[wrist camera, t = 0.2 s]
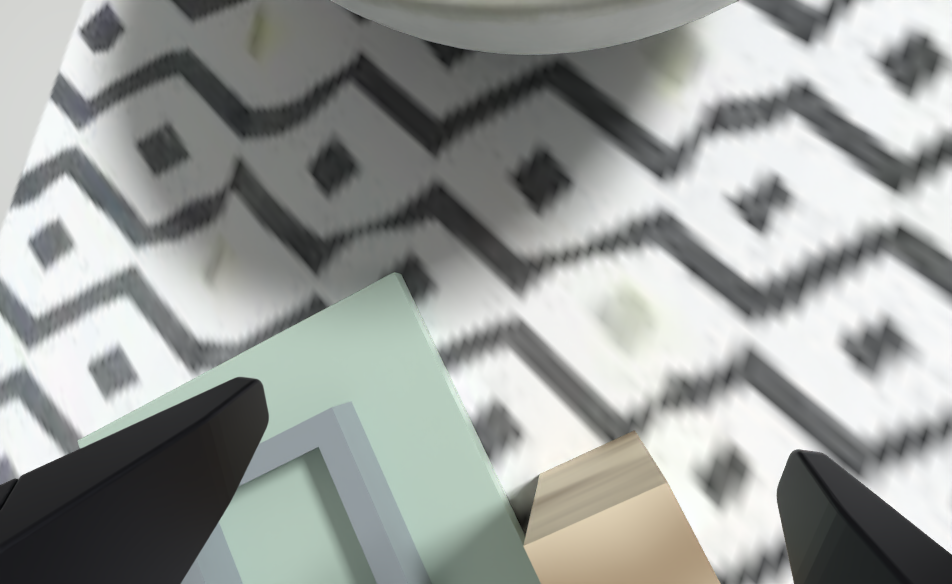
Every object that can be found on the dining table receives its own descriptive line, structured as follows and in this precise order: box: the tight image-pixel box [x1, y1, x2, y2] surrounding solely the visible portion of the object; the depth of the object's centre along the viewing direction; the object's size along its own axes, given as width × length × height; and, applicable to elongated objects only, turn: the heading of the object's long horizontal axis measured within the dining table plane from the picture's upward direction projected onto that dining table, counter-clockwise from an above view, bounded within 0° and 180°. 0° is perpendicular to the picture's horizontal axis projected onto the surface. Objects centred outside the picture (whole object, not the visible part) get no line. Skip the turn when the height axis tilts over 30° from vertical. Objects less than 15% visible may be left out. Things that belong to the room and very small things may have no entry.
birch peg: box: [523, 431, 720, 584], centre depth 19 cm, size 4×4×8 cm
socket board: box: [78, 272, 541, 584], centre depth 23 cm, size 18×18×3 cm
